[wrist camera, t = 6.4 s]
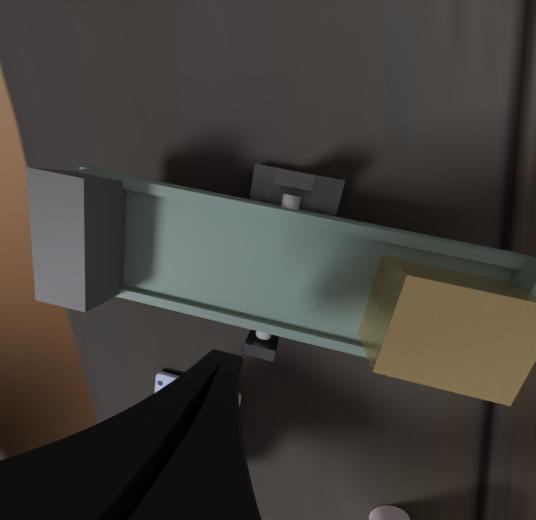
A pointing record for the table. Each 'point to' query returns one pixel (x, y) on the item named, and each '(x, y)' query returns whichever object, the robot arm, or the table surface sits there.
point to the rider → (449, 330)
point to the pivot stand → (312, 199)
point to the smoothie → (388, 513)
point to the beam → (226, 255)
